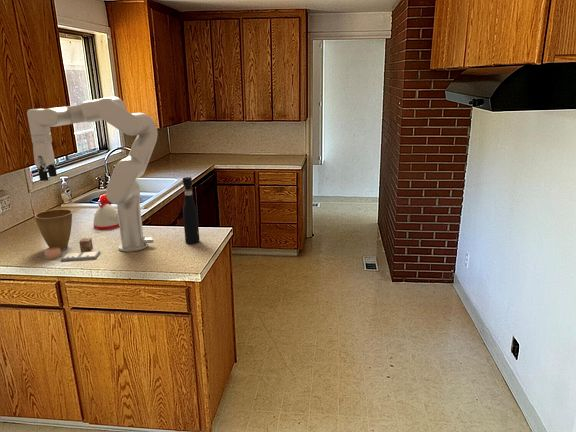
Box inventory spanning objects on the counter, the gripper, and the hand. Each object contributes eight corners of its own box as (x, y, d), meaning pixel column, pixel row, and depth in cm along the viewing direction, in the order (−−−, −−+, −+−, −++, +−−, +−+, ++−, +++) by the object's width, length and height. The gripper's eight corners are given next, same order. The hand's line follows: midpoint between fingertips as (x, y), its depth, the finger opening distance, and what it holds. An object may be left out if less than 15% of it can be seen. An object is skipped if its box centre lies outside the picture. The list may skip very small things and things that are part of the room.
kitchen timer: (127, 223, 240) (124, 196, 236) (107, 231, 228) (103, 202, 224) (109, 220, 246) (105, 193, 242) (88, 227, 235) (83, 199, 231)
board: (100, 253, 197) (100, 250, 197) (96, 258, 191) (95, 256, 190) (66, 255, 196) (66, 252, 195) (61, 261, 189) (60, 258, 189)
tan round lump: (63, 254, 197) (62, 246, 196) (58, 259, 192) (57, 251, 191) (48, 255, 197) (47, 247, 196) (43, 260, 191) (42, 252, 190)
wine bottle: (184, 241, 210) (178, 177, 202) (198, 239, 213) (192, 176, 204) (187, 245, 204) (181, 179, 196) (201, 243, 207) (195, 178, 199)
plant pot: (39, 254, 197) (32, 219, 192) (42, 244, 210) (36, 211, 206) (76, 249, 202) (71, 215, 198) (77, 240, 215) (72, 207, 211)
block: (92, 248, 203) (91, 238, 202) (90, 251, 199) (88, 240, 198) (83, 249, 203) (82, 238, 201) (80, 252, 199) (79, 241, 198)
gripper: (40, 137, 200) (47, 175, 205) (23, 141, 183) (31, 182, 188) (58, 136, 201) (64, 174, 205) (42, 140, 184) (50, 181, 189)
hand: (48, 178), depth 197 cm, fingers open, 9 cm apart
